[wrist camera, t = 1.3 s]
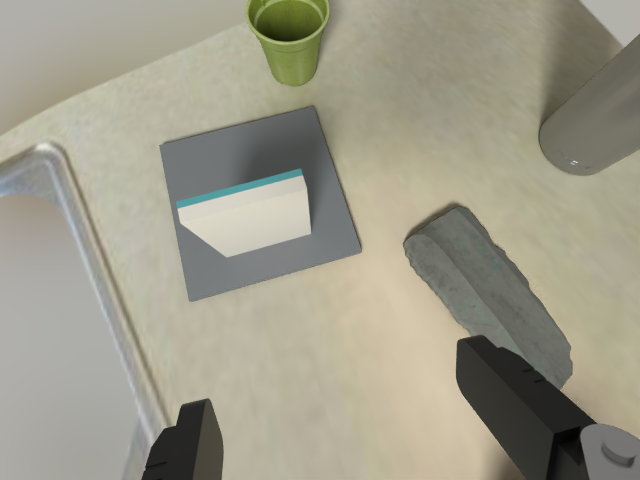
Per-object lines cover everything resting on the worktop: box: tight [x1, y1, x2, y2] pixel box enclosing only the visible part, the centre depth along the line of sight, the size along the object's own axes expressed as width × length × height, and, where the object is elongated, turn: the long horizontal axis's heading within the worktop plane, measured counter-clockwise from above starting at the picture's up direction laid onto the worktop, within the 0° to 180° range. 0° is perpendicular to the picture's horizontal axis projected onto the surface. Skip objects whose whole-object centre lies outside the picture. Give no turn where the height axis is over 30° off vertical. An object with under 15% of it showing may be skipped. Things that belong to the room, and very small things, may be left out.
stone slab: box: [403, 206, 573, 390], centre depth 37 cm, size 22×3×10 cm
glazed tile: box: [176, 169, 311, 257], centre depth 32 cm, size 2×10×13 cm, turn 106°
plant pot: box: [245, 0, 330, 86], centre depth 41 cm, size 9×9×9 cm
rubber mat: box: [159, 106, 362, 302], centre depth 40 cm, size 20×20×1 cm
